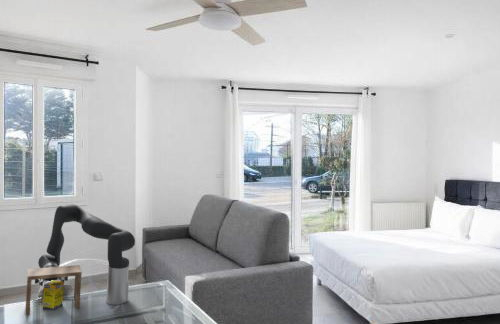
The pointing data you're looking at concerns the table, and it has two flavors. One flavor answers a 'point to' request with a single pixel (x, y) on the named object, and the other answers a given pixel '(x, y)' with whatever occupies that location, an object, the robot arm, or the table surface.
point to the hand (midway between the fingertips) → (52, 282)
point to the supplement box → (53, 295)
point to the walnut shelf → (54, 273)
